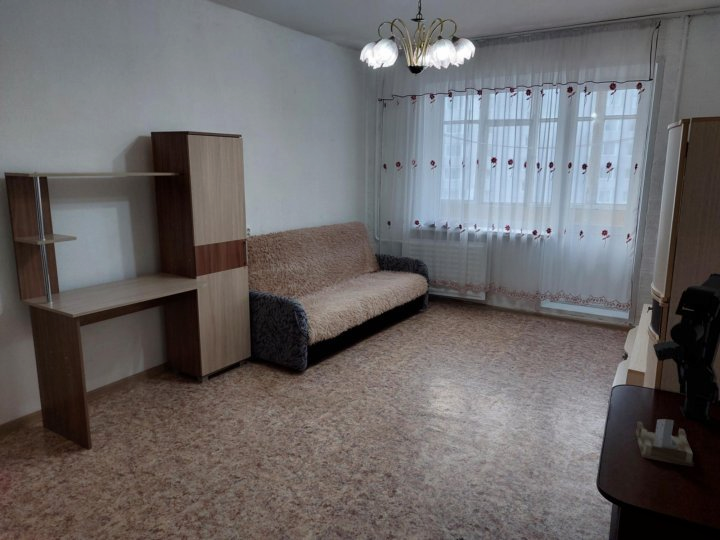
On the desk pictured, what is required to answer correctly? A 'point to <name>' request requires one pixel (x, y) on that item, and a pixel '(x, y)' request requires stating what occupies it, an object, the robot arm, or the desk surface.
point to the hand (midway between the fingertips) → (684, 391)
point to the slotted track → (661, 453)
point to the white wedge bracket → (665, 434)
